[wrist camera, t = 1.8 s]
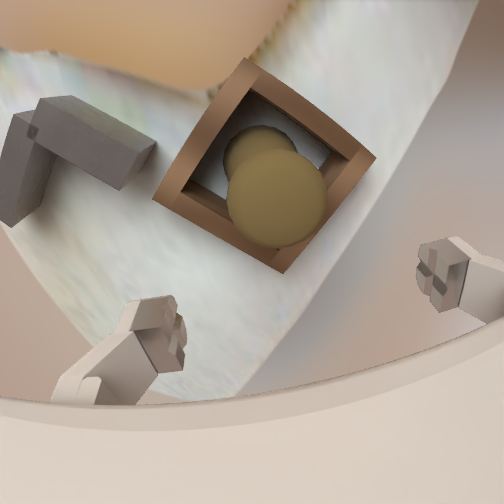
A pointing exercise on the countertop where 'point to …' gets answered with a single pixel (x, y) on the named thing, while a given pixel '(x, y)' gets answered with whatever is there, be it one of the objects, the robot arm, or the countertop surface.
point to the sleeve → (241, 80)
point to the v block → (64, 151)
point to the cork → (272, 188)
